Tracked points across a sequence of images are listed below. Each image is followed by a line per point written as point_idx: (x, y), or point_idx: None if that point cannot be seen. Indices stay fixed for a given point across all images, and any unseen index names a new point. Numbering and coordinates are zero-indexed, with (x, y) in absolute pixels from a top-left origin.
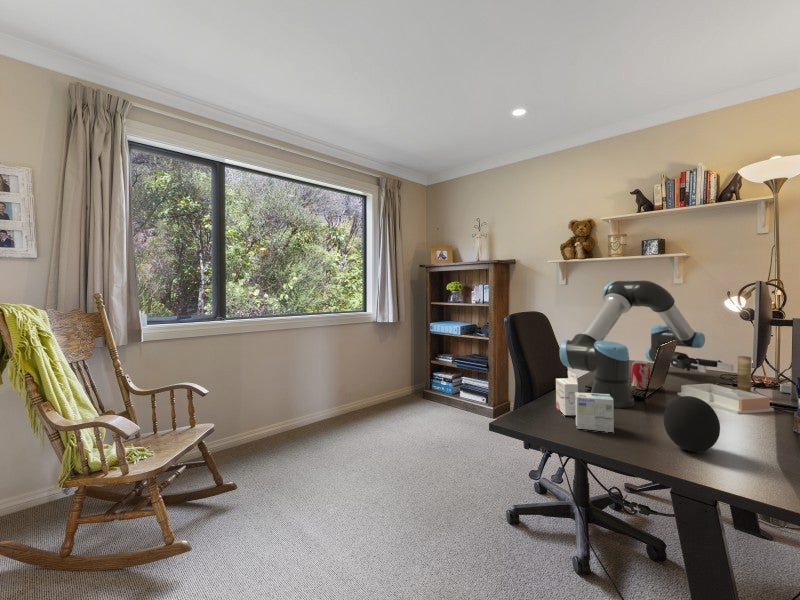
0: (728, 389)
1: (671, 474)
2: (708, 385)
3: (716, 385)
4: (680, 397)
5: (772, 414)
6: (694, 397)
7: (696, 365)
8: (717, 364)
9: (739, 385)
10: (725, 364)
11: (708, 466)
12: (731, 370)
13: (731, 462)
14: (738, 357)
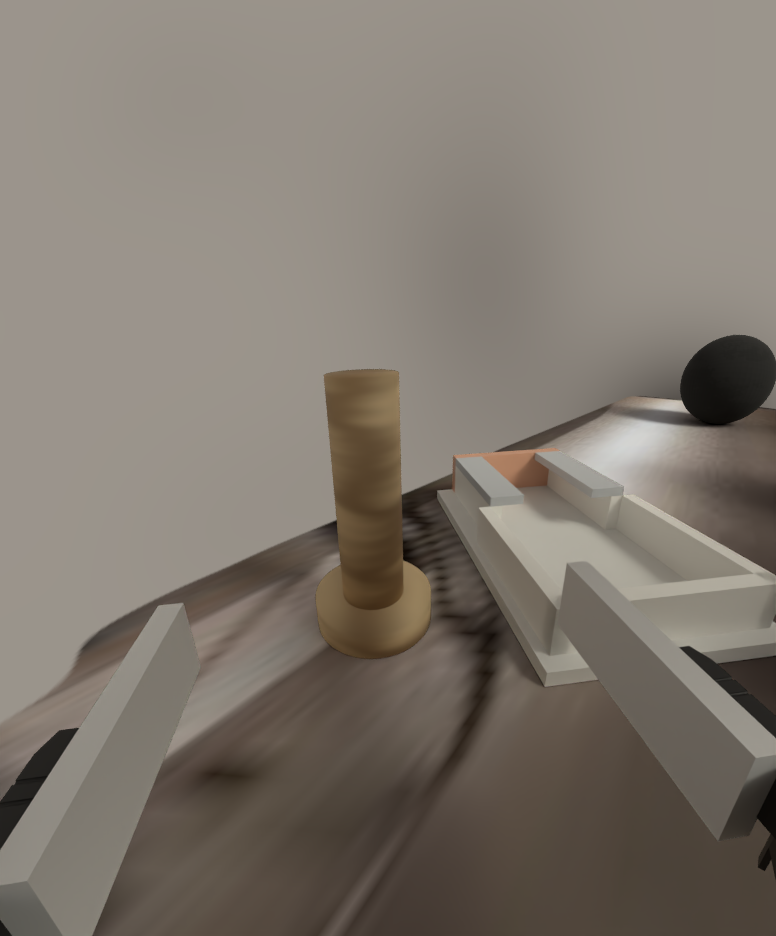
0: (508, 530)
1: None
2: None
3: (536, 572)
4: (755, 338)
5: None
6: (731, 335)
7: (673, 655)
8: (52, 912)
9: (402, 556)
10: (145, 690)
11: None
12: (197, 667)
13: (660, 414)
14: (398, 379)
